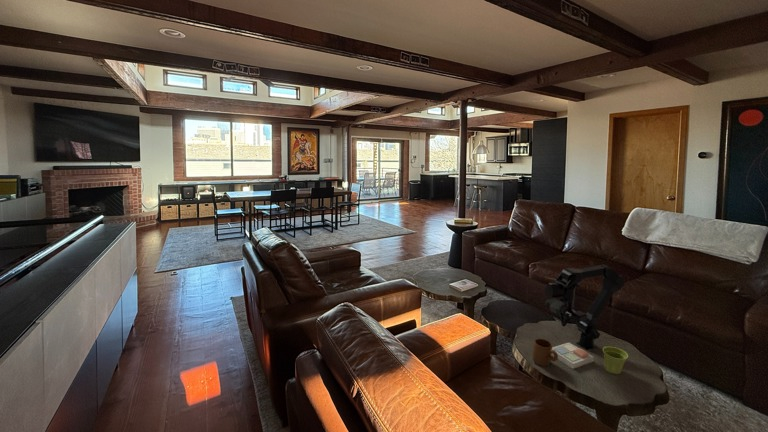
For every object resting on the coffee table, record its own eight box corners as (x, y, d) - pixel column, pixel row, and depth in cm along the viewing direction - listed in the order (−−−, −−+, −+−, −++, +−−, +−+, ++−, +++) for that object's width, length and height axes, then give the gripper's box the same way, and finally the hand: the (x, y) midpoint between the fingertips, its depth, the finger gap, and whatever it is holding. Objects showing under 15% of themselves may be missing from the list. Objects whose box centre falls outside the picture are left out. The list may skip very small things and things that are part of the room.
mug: (562, 370, 160) (564, 350, 158) (549, 374, 157) (551, 354, 155) (541, 355, 171) (543, 337, 169) (528, 358, 168) (530, 340, 166)
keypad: (568, 347, 177) (569, 342, 177) (592, 362, 166) (593, 356, 165) (548, 353, 172) (549, 348, 172) (572, 369, 161) (573, 363, 160)
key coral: (579, 351, 170) (580, 348, 170) (588, 357, 166) (588, 353, 166) (573, 354, 168) (573, 350, 168) (581, 359, 164) (582, 355, 164)
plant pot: (617, 379, 154) (620, 361, 152) (595, 367, 162) (598, 349, 160) (629, 373, 158) (632, 355, 156) (608, 361, 166) (610, 344, 164)
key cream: (569, 348, 175) (569, 344, 175) (577, 352, 171) (577, 349, 171) (562, 350, 174) (562, 346, 173) (570, 355, 170) (570, 351, 169)
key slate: (560, 350, 173) (560, 346, 173) (568, 355, 169) (568, 351, 169) (553, 352, 171) (554, 349, 171) (561, 357, 167) (562, 354, 167)
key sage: (570, 357, 168) (571, 353, 168) (579, 362, 164) (579, 358, 164) (564, 359, 166) (564, 355, 166) (572, 364, 162) (572, 360, 162)
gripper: (538, 290, 175) (535, 320, 179) (572, 307, 159) (568, 339, 162) (555, 287, 180) (552, 316, 183) (590, 302, 163) (585, 334, 166)
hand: (563, 326), depth 173 cm, fingers closed
